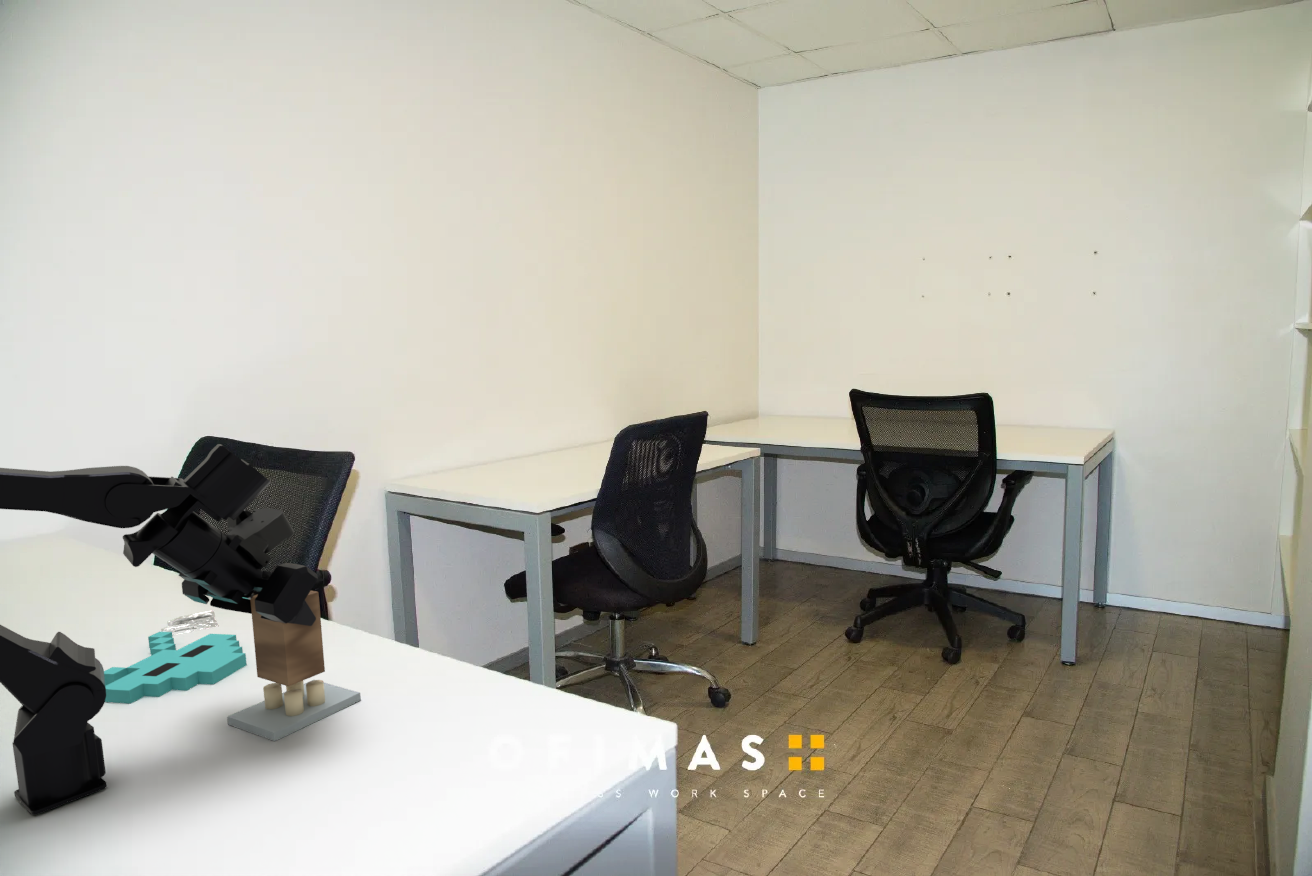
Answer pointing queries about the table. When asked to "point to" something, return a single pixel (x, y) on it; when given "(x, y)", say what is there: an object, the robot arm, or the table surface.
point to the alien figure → (175, 667)
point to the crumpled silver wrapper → (193, 622)
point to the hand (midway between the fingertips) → (297, 618)
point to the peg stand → (292, 708)
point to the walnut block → (288, 647)
